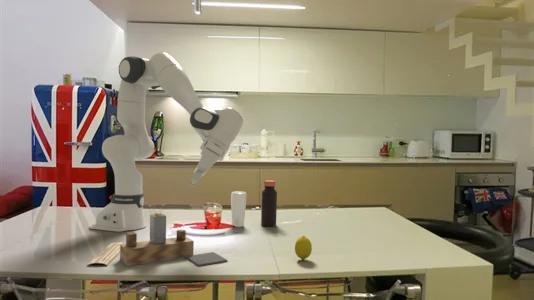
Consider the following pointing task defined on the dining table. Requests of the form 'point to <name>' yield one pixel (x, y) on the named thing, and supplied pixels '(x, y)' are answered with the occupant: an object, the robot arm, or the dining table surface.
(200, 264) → the pad
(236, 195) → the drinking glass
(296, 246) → the lemon
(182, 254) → the plane body
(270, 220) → the bottle
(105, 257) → the newspaper
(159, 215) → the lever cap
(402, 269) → the dining table surface
